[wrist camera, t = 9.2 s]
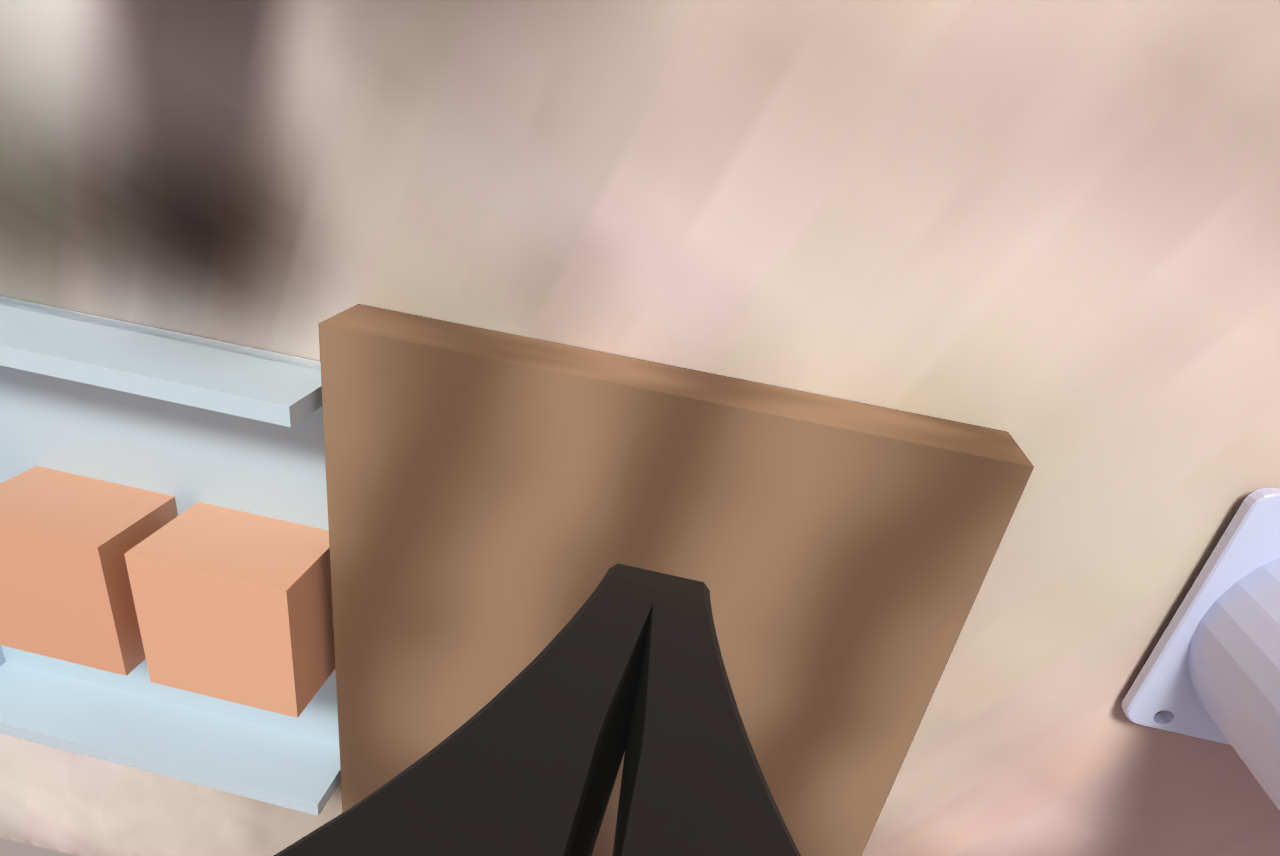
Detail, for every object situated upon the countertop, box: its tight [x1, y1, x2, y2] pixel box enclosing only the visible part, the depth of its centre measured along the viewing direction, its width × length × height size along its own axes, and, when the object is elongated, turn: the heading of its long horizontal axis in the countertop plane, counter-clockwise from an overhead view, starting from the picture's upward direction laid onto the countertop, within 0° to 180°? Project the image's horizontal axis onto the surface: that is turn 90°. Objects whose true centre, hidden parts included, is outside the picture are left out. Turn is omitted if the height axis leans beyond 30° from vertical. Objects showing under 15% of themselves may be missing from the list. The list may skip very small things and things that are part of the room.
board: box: [319, 304, 1034, 856], centre depth 23 cm, size 18×20×2 cm
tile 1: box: [0, 466, 178, 676], centre depth 23 cm, size 5×5×3 cm
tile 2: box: [124, 502, 335, 718], centre depth 23 cm, size 5×5×3 cm
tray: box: [0, 296, 341, 816], centre depth 24 cm, size 15×16×3 cm
